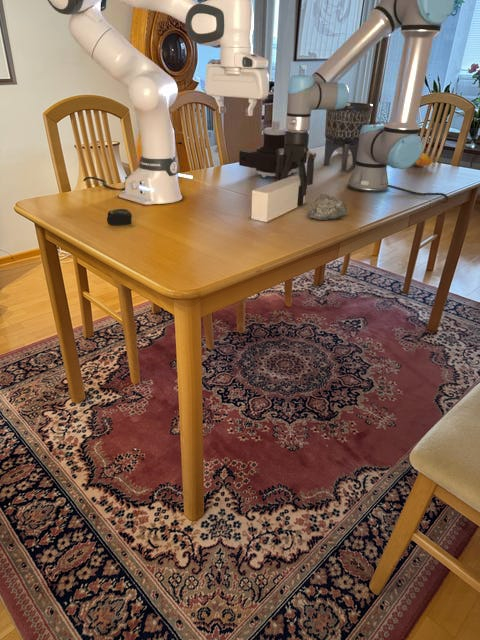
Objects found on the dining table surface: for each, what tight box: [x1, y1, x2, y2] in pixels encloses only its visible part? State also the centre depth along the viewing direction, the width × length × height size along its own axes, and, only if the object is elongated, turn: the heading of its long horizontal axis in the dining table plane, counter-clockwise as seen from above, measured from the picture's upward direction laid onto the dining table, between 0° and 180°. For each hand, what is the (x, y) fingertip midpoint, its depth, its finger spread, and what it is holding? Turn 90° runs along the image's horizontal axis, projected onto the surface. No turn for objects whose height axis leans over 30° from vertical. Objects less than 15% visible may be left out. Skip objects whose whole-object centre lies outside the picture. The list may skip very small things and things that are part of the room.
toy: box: [413, 152, 434, 168], centre depth 216 cm, size 11×6×15 cm
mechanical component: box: [238, 120, 308, 178], centre depth 191 cm, size 22×21×30 cm
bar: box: [250, 175, 306, 223], centre depth 147 cm, size 25×6×9 cm, turn 146°
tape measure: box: [106, 208, 133, 227], centre depth 132 cm, size 7×7×4 cm
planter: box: [323, 101, 374, 172], centre depth 204 cm, size 20×20×26 cm
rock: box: [307, 192, 348, 221], centre depth 142 cm, size 13×9×6 cm, turn 131°
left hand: (235, 114), depth 133 cm, fingers open, 8 cm apart
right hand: (291, 203), depth 155 cm, fingers closed on bar, 6 cm apart
